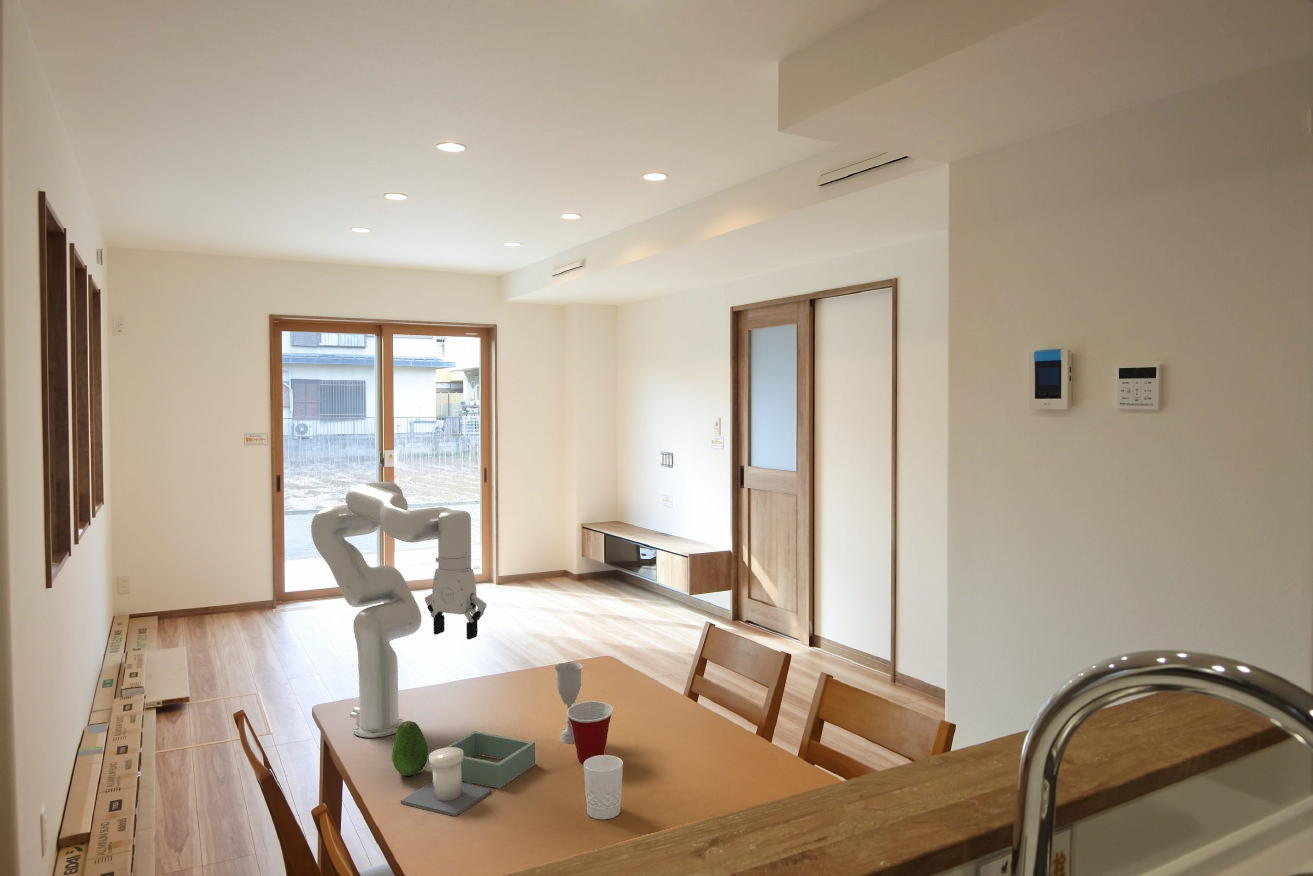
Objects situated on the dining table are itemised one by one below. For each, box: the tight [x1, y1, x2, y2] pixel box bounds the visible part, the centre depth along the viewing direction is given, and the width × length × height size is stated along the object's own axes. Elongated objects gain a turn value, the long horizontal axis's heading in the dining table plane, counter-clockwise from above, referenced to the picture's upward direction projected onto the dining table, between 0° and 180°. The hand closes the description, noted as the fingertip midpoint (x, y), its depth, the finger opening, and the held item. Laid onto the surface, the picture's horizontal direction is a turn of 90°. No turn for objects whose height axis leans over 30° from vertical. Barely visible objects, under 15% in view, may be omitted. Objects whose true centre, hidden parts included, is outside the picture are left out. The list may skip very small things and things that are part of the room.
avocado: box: [391, 720, 429, 777], centre depth 188 cm, size 8×8×12 cm
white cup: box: [583, 754, 624, 820], centre depth 170 cm, size 8×8×10 cm
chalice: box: [554, 661, 584, 744], centre depth 208 cm, size 7×7×18 cm
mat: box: [400, 781, 493, 818], centre depth 177 cm, size 14×12×1 cm
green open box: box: [444, 730, 536, 789], centre depth 191 cm, size 17×14×5 cm
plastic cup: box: [566, 700, 614, 765], centre depth 196 cm, size 11×11×12 cm
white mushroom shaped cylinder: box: [428, 746, 464, 801], centre depth 177 cm, size 7×7×9 cm
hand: (455, 635), depth 200 cm, fingers open, 9 cm apart
